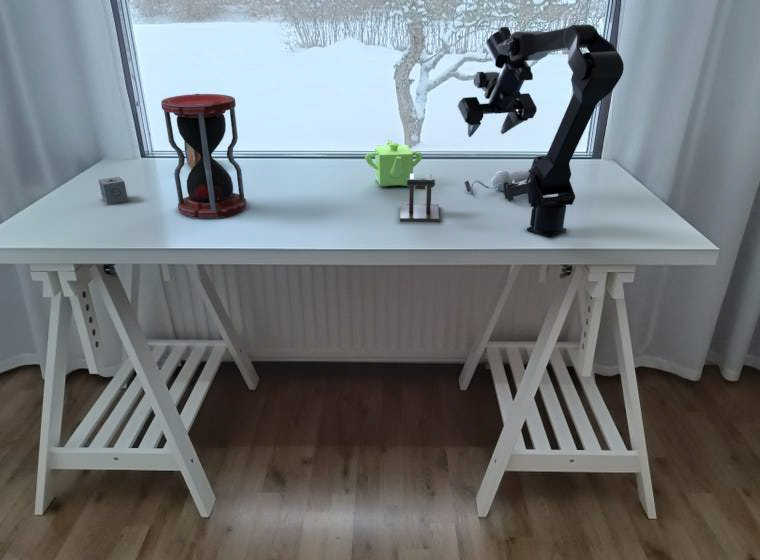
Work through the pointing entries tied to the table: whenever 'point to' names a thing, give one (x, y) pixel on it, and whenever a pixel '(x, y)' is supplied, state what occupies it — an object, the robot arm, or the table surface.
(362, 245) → the table surface
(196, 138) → the hourglass
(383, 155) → the teapot
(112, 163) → the table surface
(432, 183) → the tap lever
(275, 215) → the table surface
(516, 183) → the clip-on lamp
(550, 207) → the robot arm
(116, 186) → the dice cube
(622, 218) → the table surface
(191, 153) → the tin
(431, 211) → the stand
